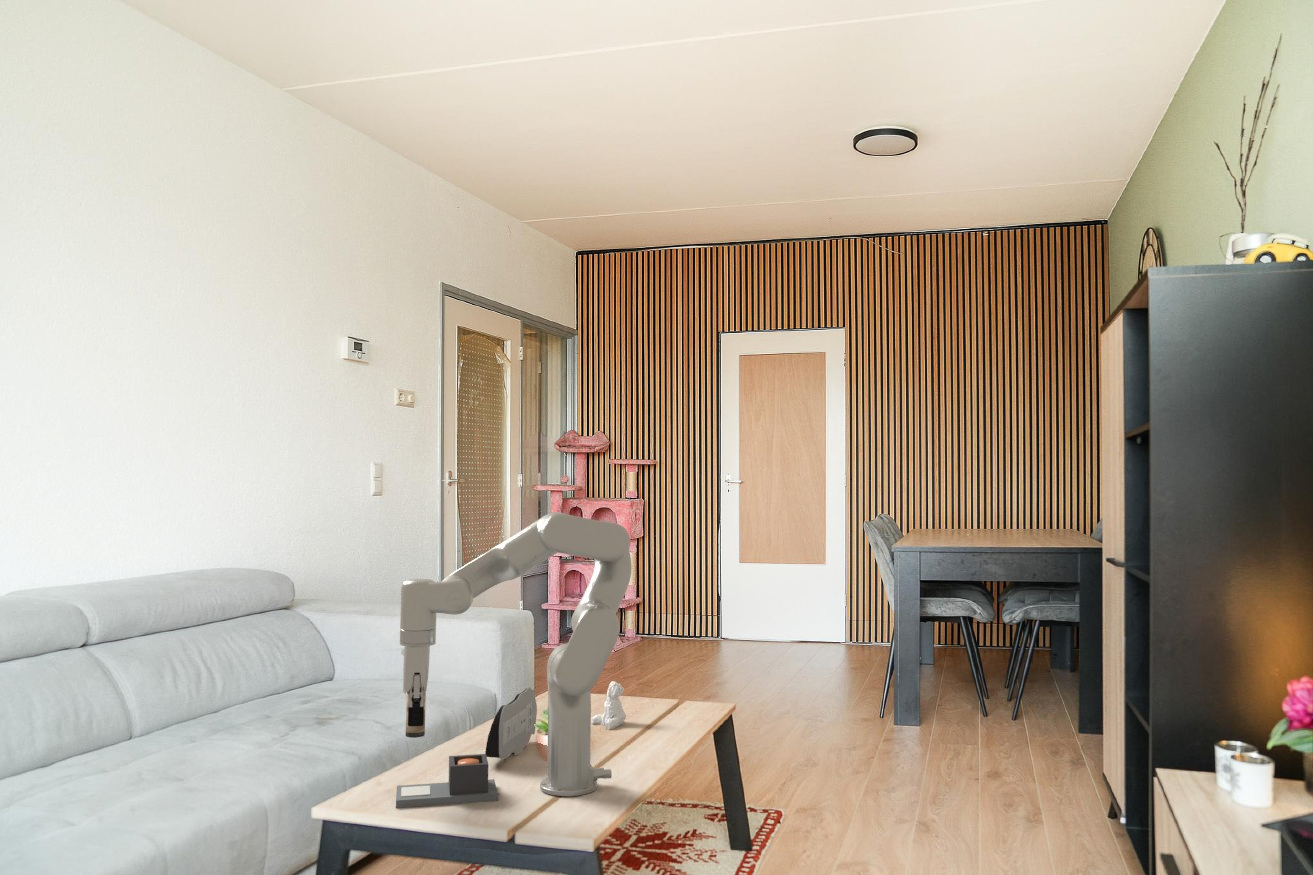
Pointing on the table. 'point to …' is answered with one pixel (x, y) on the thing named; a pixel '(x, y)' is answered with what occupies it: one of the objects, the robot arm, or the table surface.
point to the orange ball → (468, 761)
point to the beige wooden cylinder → (415, 730)
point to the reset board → (452, 786)
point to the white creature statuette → (611, 709)
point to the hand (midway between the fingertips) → (415, 722)
